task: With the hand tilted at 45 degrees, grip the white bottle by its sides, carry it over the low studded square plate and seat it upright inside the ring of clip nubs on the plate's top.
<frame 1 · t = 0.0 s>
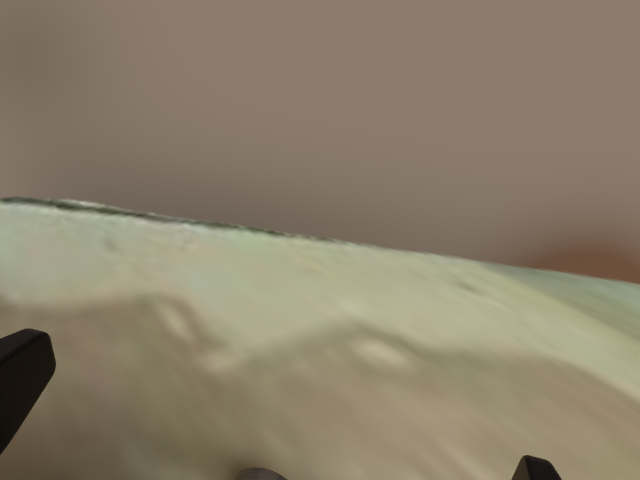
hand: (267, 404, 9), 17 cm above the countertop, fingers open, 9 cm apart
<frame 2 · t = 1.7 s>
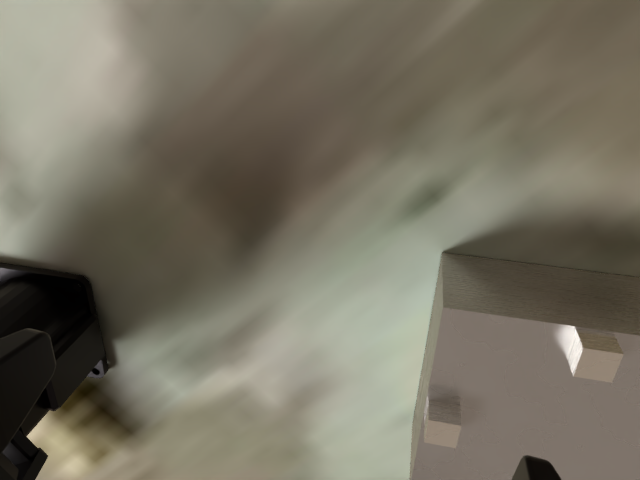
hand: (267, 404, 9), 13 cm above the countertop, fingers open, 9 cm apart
studded square plate: (539, 364, 23), on the countertop
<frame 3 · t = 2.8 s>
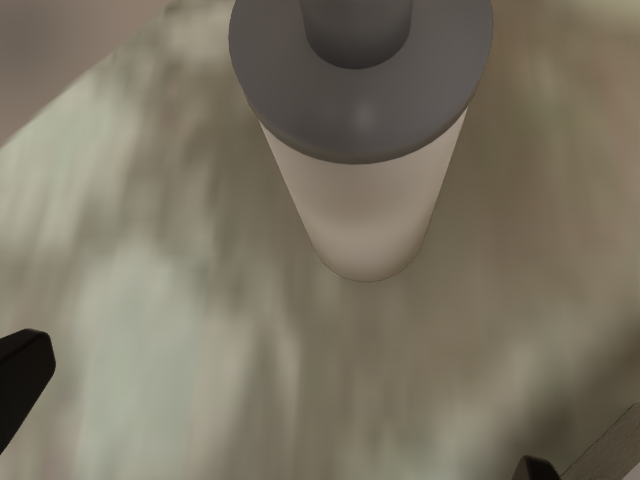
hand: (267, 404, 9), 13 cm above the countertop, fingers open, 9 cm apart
white bottle: (366, 225, 24), on the countertop
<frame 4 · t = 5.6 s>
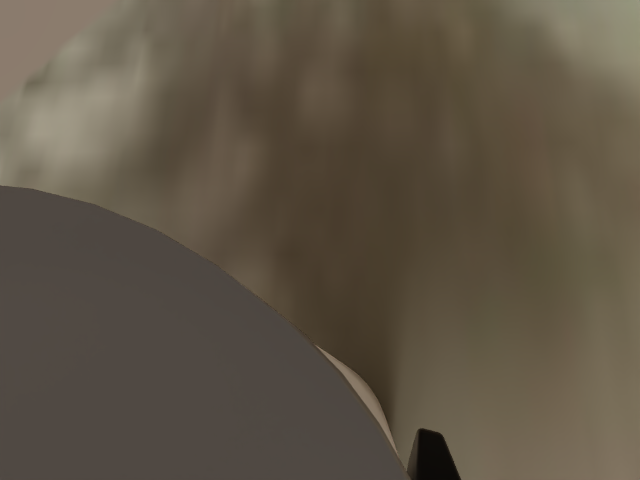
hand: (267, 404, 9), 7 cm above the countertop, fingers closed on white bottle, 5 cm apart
white bottle: (299, 444, 15), on the countertop, touching gripper
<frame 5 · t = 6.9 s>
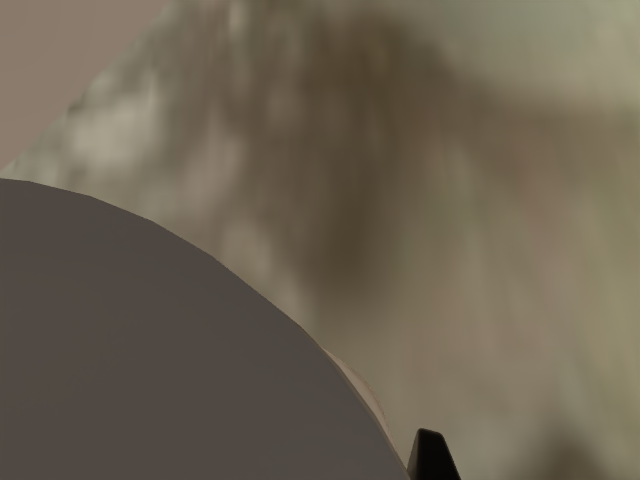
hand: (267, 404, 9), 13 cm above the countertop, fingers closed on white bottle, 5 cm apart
white bottle: (298, 442, 15), point 7 cm above the countertop, touching gripper
when the fingers open (11 cm above the countertop, at t = 8.6 s): white bottle stays where it is, resting on studded square plate.
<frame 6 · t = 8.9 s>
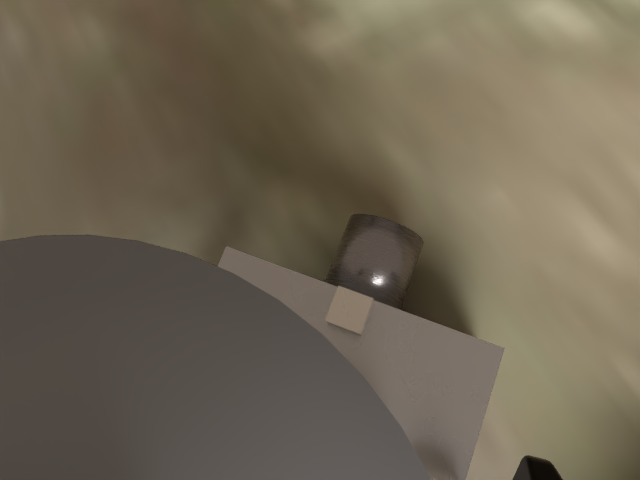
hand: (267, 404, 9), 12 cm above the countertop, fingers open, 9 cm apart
studded square plate: (316, 429, 20), on the countertop
white bottle: (302, 441, 16), point 4 cm above the countertop, touching studded square plate
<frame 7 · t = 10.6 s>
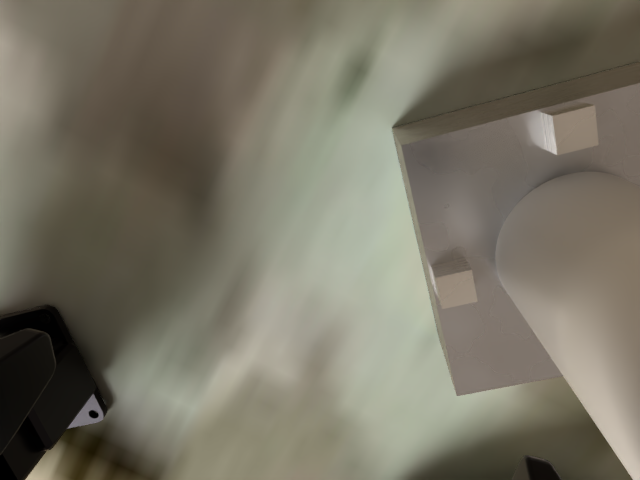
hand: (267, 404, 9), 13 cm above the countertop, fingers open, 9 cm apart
studded square plate: (536, 214, 21), on the countertop
white bottle: (576, 249, 17), point 4 cm above the countertop, touching studded square plate
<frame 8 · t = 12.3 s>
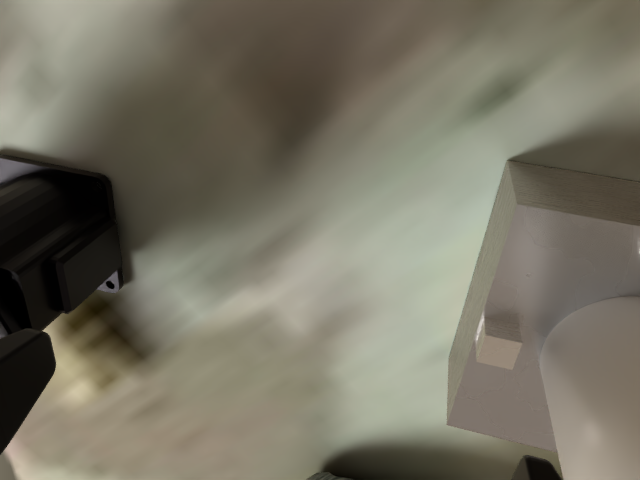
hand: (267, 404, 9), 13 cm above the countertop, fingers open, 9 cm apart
studded square plate: (599, 296, 21), on the countertop
white bottle: (625, 362, 17), point 4 cm above the countertop, touching studded square plate
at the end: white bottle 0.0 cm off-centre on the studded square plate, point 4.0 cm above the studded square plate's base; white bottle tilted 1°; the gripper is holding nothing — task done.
